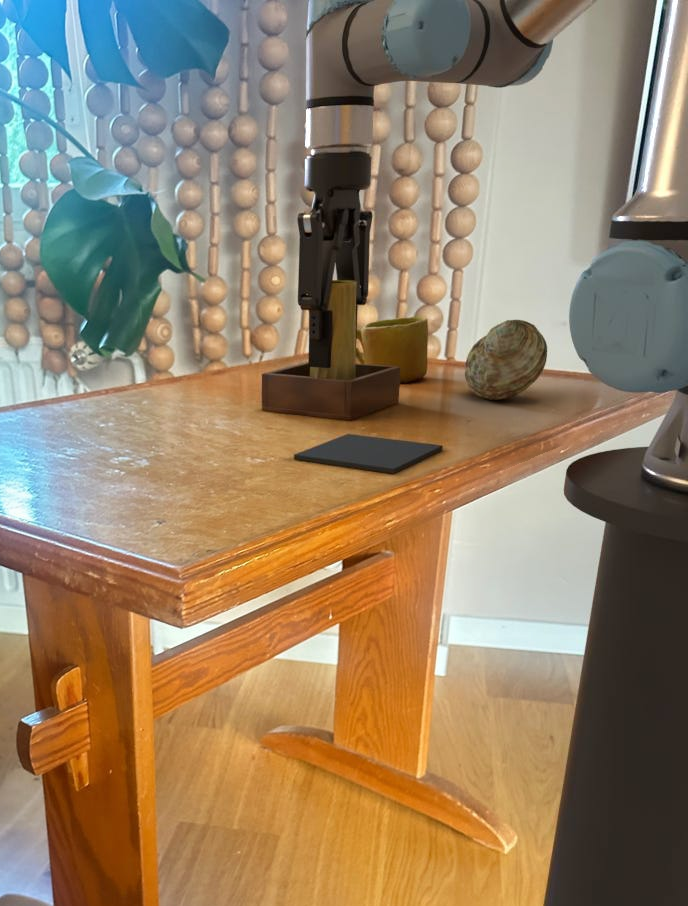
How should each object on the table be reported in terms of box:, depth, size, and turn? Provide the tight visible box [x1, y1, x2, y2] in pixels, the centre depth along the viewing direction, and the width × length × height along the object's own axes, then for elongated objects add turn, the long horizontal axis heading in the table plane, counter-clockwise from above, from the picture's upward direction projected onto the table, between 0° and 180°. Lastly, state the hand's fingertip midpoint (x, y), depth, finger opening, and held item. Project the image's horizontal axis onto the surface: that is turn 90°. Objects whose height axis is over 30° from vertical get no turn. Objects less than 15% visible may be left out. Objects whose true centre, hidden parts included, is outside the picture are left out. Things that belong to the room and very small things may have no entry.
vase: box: [310, 279, 357, 380], centre depth 113 cm, size 6×6×14 cm
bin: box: [261, 361, 401, 421], centre depth 115 cm, size 13×13×4 cm
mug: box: [356, 316, 429, 384], centre depth 133 cm, size 12×10×10 cm
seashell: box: [464, 319, 548, 401], centre depth 117 cm, size 11×11×10 cm
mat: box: [293, 433, 444, 475], centre depth 93 cm, size 11×11×1 cm
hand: (332, 363), depth 114 cm, fingers closed on vase, 5 cm apart
